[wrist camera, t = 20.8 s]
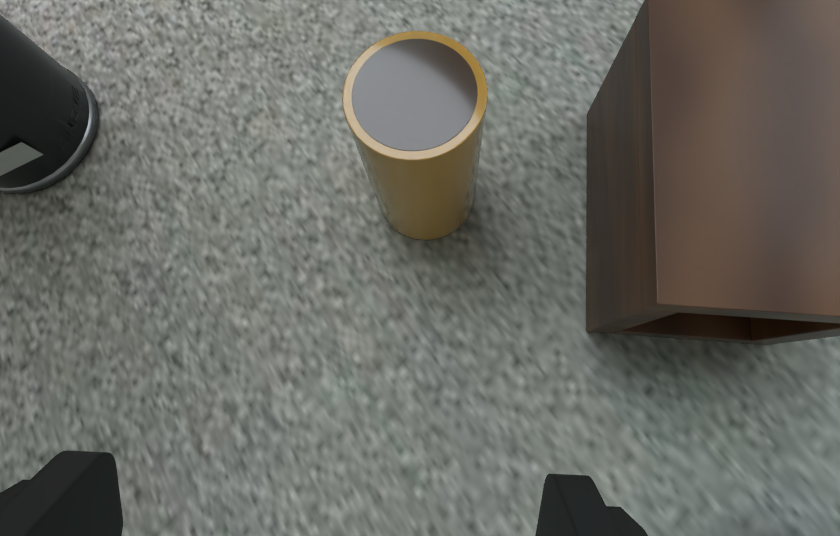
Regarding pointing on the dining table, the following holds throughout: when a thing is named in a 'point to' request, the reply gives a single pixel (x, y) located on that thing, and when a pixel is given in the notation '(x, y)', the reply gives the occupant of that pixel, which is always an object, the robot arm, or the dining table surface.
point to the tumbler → (418, 129)
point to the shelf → (718, 174)
